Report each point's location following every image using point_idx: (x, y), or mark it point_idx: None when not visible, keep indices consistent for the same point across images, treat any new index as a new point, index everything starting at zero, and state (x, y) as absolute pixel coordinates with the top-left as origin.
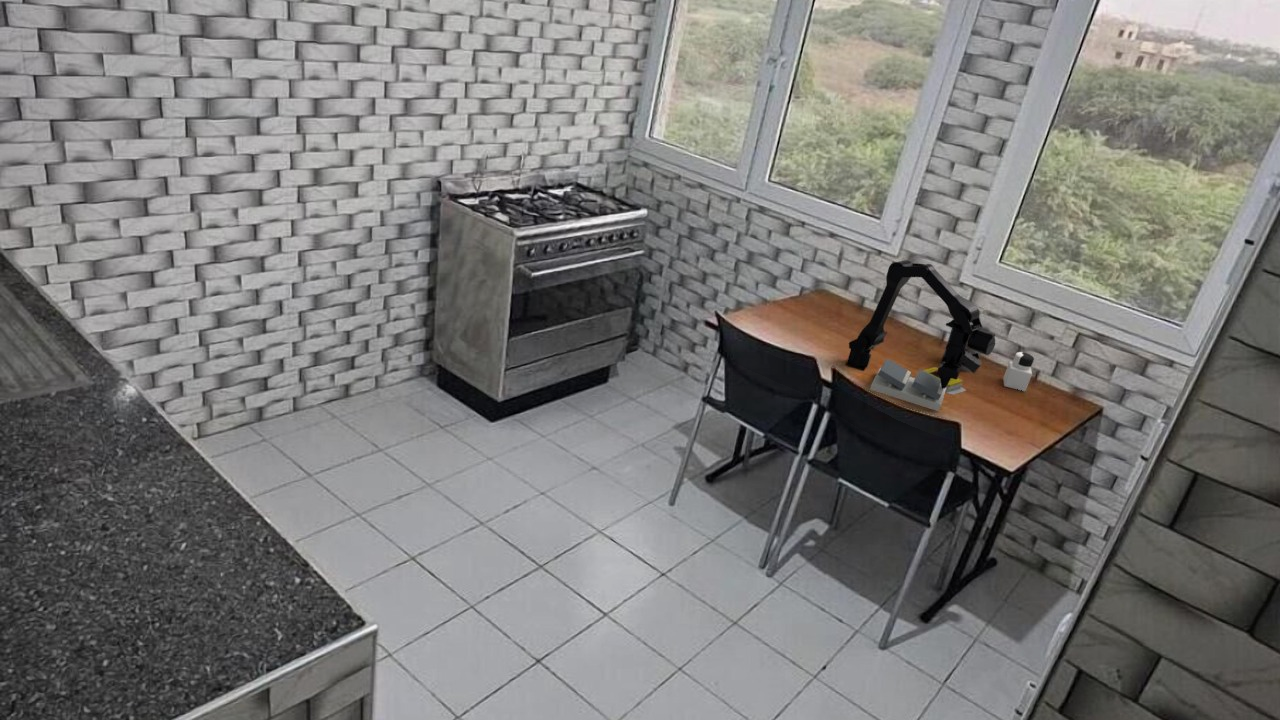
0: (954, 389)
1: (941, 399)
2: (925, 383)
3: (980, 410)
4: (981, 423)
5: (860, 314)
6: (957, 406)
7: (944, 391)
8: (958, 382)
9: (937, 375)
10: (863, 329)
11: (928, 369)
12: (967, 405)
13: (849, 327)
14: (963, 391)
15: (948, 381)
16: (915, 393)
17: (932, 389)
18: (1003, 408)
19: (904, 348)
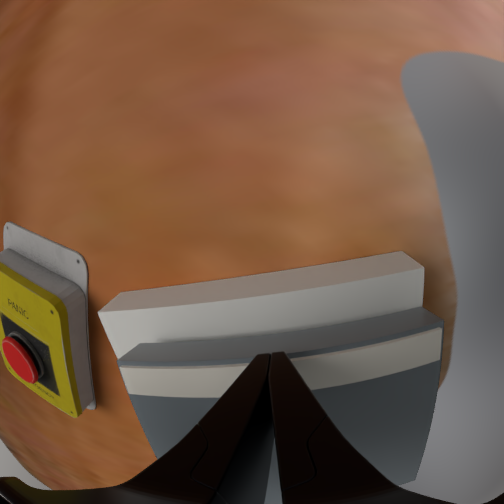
0: (36, 265)
1: (332, 293)
2: (369, 456)
3: (134, 63)
4: (324, 5)
5: (21, 455)
6: (204, 176)
7: (158, 312)
8: (3, 271)
9: (42, 367)
10: None
11: (41, 395)
12: (130, 138)
13: (69, 482)
14: (19, 226)
15: (326, 414)
16: None
17: (416, 400)
18: (40, 39)
19: (15, 414)
